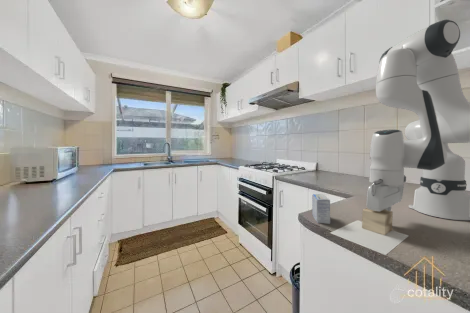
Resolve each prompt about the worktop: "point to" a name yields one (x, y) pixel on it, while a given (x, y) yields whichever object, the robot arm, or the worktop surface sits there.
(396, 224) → the worktop surface
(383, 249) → the white flat sheet
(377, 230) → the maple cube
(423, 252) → the worktop surface
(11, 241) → the worktop surface
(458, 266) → the worktop surface
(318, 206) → the medicine box
